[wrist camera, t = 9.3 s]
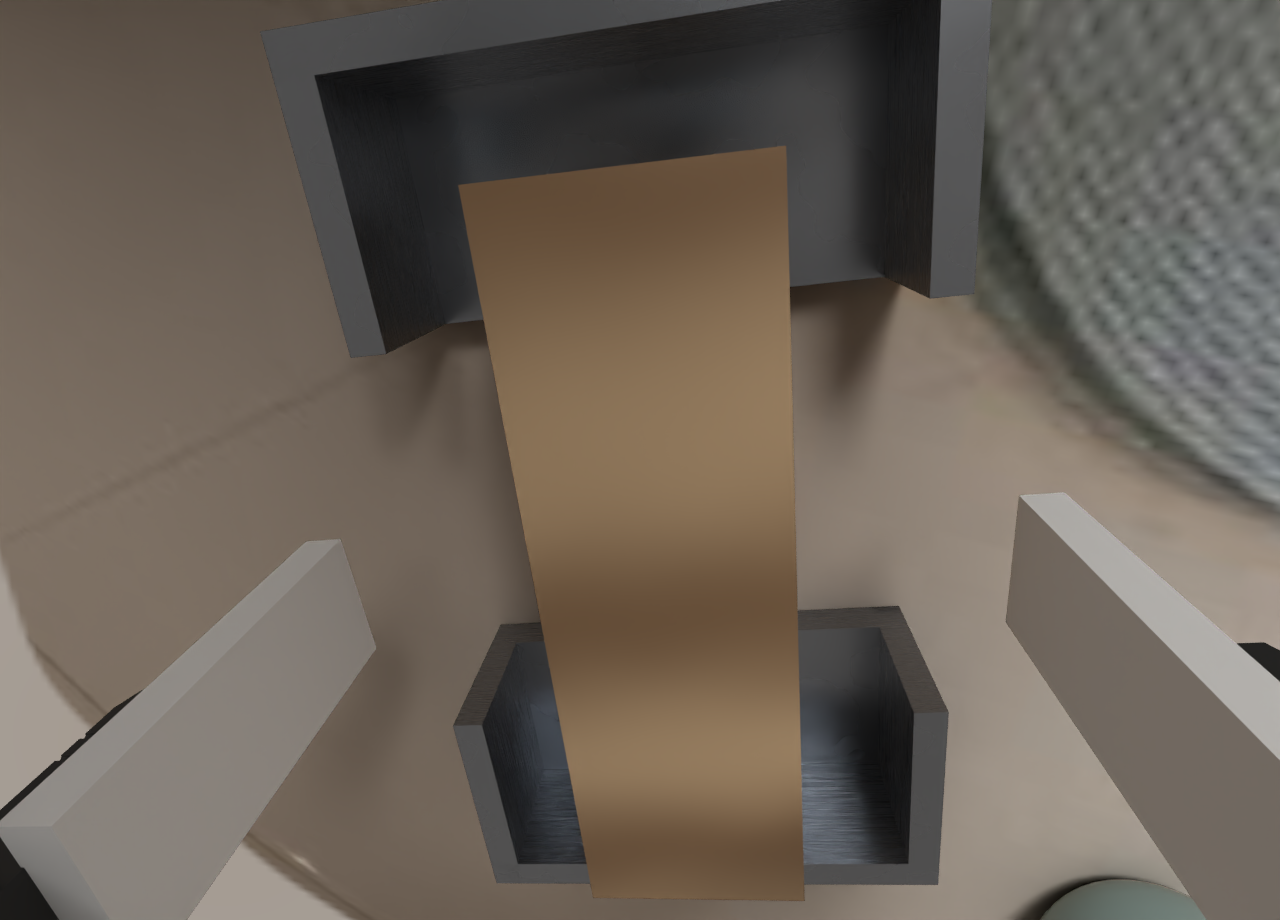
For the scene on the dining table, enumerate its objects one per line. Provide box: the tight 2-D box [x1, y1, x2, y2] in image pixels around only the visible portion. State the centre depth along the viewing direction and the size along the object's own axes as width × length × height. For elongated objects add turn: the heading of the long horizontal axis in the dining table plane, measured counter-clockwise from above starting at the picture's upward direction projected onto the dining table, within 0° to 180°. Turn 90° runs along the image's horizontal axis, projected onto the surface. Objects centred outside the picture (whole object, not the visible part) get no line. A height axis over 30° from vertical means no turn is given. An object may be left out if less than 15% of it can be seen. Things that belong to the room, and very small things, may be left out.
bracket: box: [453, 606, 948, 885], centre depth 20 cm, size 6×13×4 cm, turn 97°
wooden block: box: [458, 146, 805, 901], centre depth 16 cm, size 16×5×6 cm, turn 6°
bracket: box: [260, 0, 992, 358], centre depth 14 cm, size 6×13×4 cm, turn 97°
